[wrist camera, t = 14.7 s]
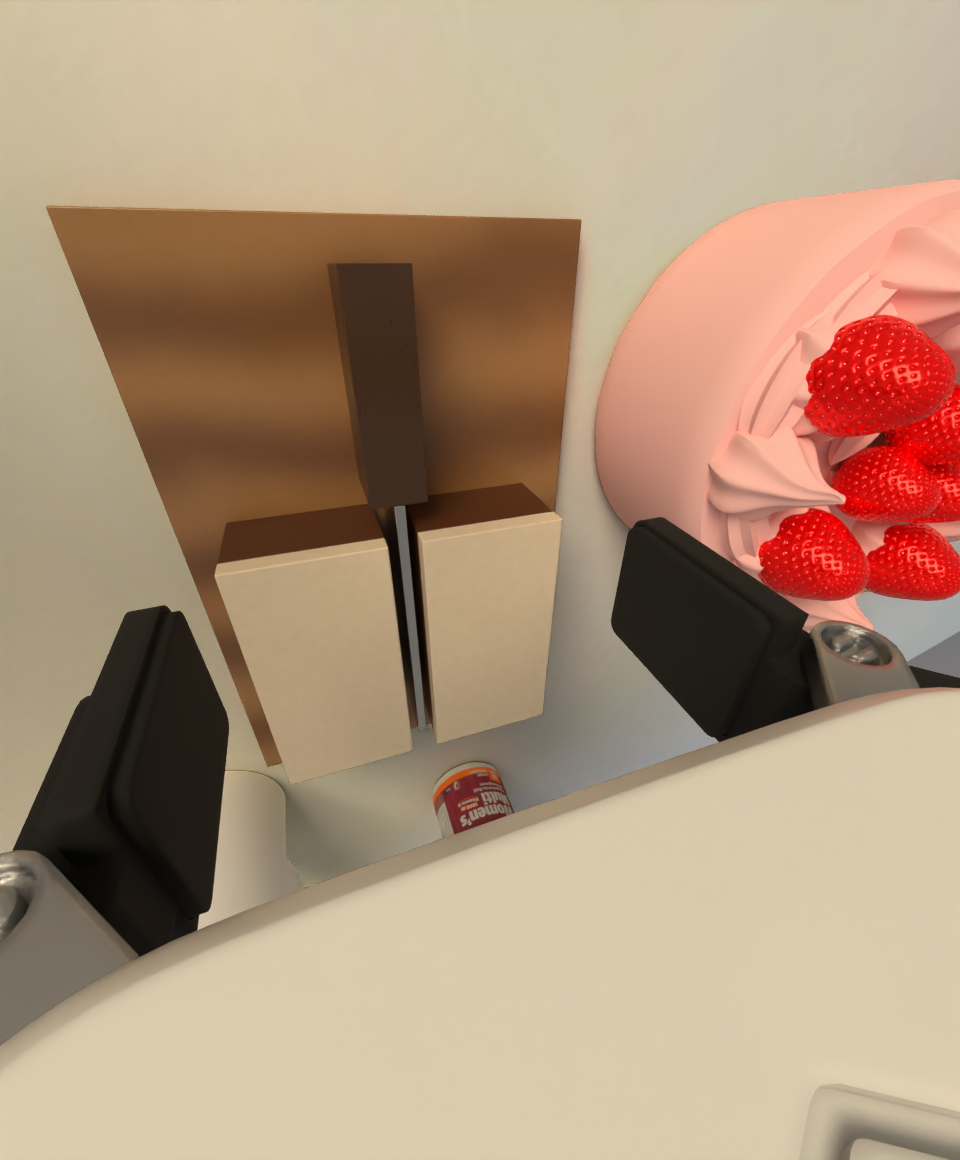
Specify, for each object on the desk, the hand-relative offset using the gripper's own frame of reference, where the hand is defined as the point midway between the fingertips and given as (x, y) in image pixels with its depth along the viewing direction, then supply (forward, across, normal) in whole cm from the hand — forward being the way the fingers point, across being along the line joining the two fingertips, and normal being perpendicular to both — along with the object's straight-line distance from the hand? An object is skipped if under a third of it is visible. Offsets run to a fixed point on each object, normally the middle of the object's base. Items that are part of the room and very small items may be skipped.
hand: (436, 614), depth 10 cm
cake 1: (+16, +3, +11) cm, 19 cm away
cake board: (+17, -1, +7) cm, 18 cm away
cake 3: (+17, -23, +1) cm, 29 cm away
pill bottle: (+16, -5, +32) cm, 37 cm away
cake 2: (+16, -6, +11) cm, 20 cm away
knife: (+16, -1, +6) cm, 17 cm away
